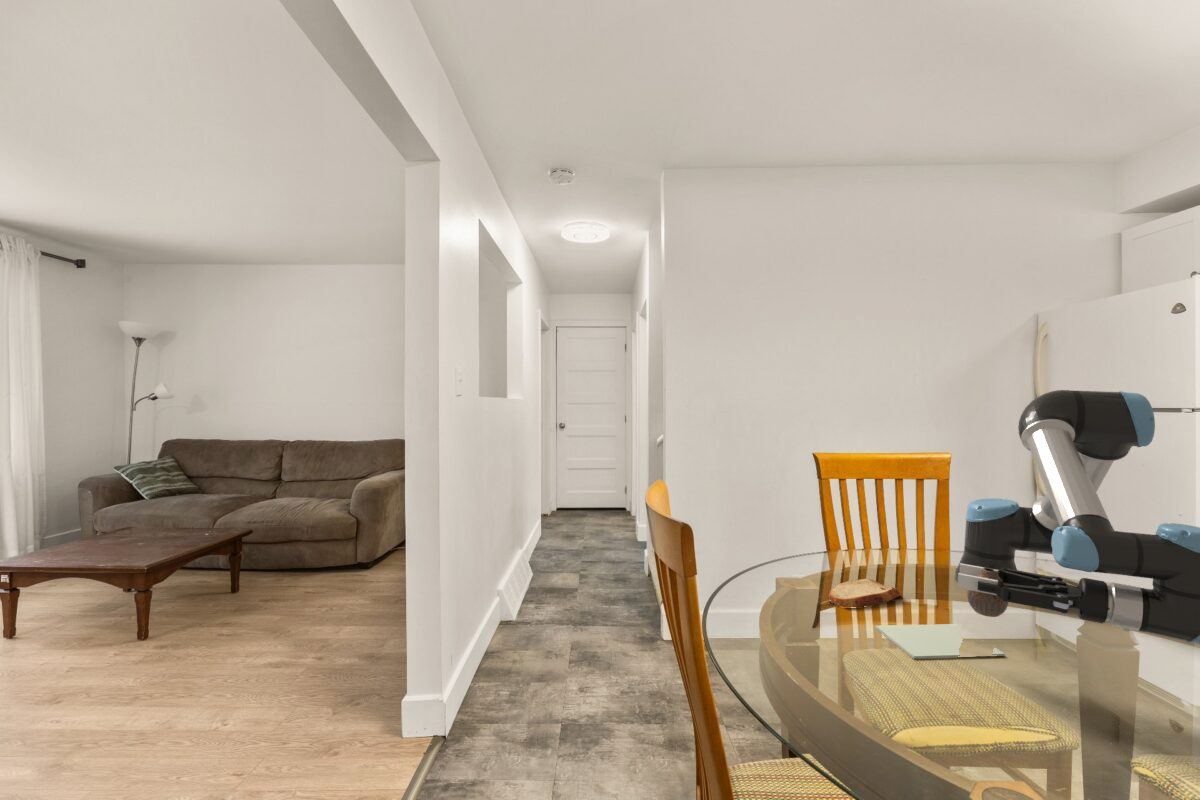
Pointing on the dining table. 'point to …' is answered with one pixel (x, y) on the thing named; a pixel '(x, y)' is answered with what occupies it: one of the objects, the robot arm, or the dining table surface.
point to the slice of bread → (862, 593)
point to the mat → (927, 640)
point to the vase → (987, 597)
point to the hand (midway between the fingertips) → (958, 575)
